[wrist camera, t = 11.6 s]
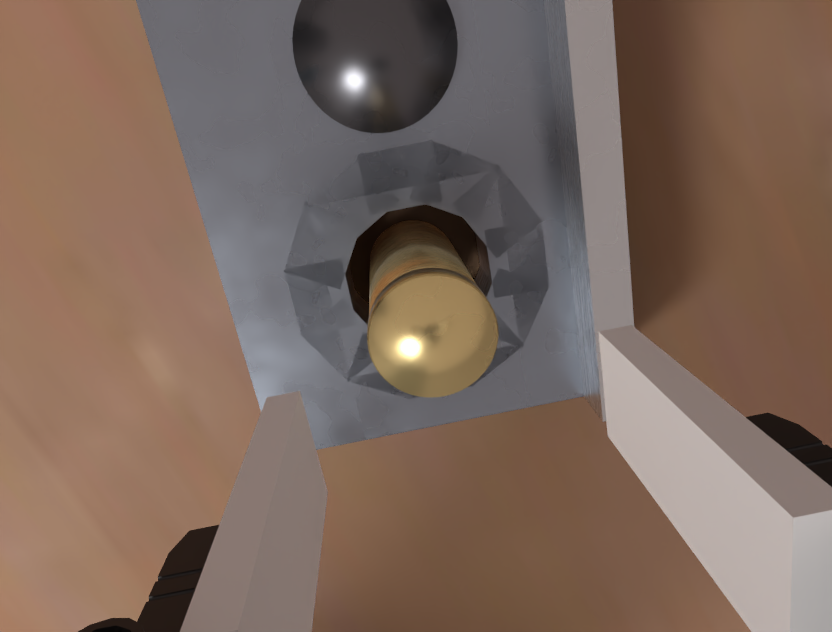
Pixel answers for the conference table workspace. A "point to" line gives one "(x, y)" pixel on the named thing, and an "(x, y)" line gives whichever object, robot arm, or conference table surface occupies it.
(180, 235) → the conference table surface
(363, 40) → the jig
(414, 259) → the cylinder
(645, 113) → the conference table surface
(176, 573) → the robot arm
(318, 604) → the conference table surface
